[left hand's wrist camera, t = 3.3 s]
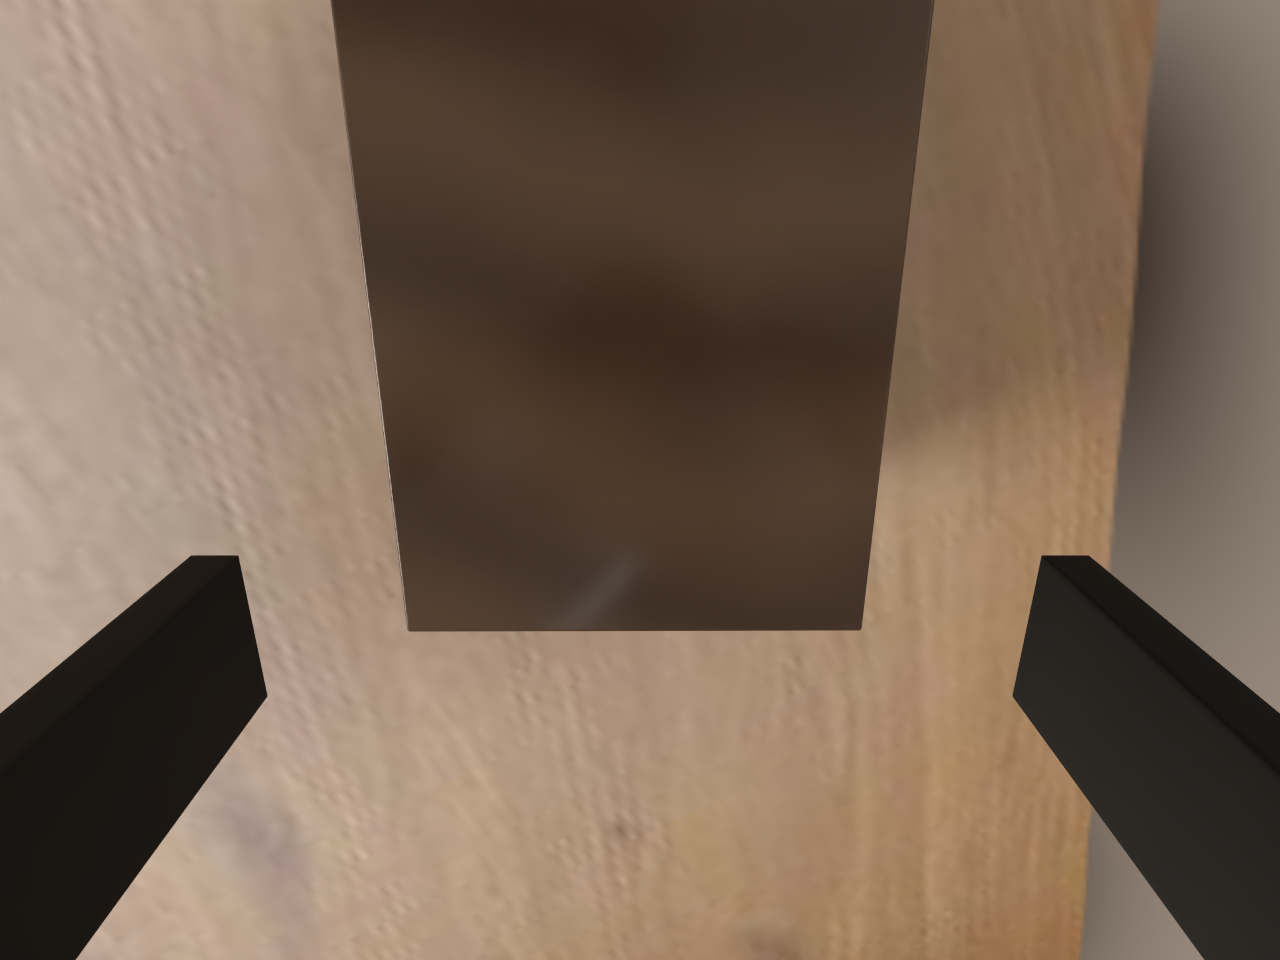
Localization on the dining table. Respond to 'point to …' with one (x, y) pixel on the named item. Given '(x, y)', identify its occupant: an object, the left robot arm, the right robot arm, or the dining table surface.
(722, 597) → the cabinet
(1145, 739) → the left robot arm
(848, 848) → the dining table surface
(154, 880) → the dining table surface
